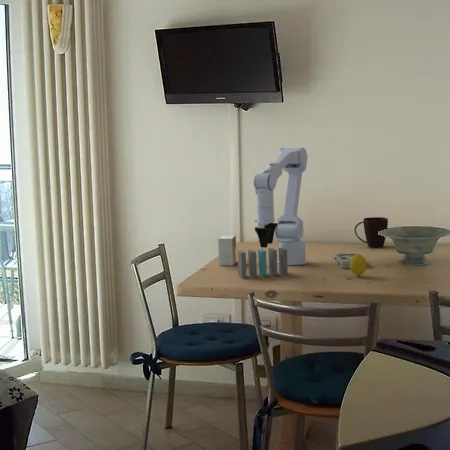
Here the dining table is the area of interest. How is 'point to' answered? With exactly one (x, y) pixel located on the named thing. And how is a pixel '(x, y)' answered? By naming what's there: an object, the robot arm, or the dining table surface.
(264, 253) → the teal domino
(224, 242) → the small box
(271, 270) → the domino
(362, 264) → the lemon
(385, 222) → the cup
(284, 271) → the domino
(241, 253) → the domino
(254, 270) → the domino
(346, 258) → the handheld gaming console
